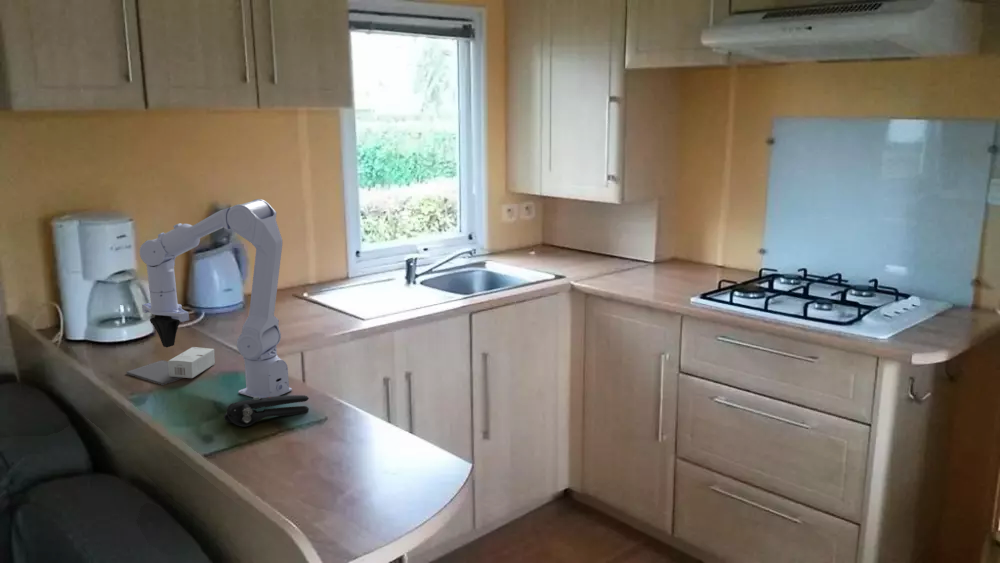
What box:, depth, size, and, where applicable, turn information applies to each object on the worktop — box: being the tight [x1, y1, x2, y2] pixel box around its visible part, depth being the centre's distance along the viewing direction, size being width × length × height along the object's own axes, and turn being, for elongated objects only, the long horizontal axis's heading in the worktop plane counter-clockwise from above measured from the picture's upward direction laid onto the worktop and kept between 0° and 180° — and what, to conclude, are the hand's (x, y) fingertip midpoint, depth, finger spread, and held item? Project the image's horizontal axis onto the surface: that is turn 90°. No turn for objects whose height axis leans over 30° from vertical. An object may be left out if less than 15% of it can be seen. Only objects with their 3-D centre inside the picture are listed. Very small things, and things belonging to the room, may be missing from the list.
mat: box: [125, 359, 184, 386], centre depth 196 cm, size 14×10×1 cm
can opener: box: [223, 394, 310, 428], centre depth 170 cm, size 18×7×6 cm, turn 120°
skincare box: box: [167, 346, 216, 379], centre depth 197 cm, size 6×4×12 cm
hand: (168, 345), depth 188 cm, fingers closed
